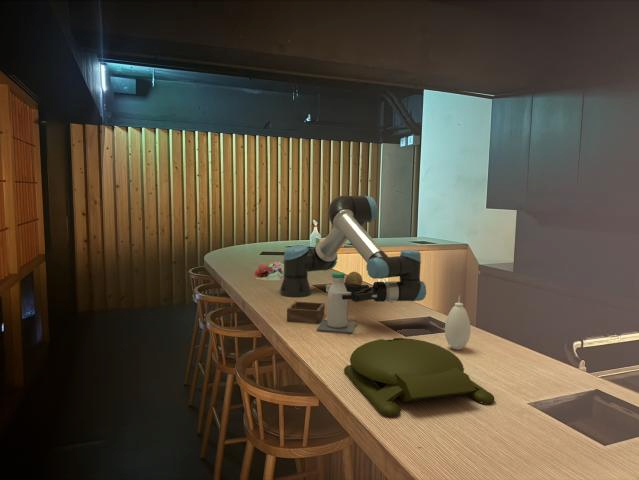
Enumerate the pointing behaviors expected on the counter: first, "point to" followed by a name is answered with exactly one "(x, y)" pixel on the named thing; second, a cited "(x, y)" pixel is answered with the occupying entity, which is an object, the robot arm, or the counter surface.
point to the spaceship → (409, 373)
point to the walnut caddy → (306, 312)
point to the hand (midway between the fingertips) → (329, 292)
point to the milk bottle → (337, 303)
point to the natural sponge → (354, 278)
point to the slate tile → (345, 330)
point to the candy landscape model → (270, 272)
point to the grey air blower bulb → (457, 327)
